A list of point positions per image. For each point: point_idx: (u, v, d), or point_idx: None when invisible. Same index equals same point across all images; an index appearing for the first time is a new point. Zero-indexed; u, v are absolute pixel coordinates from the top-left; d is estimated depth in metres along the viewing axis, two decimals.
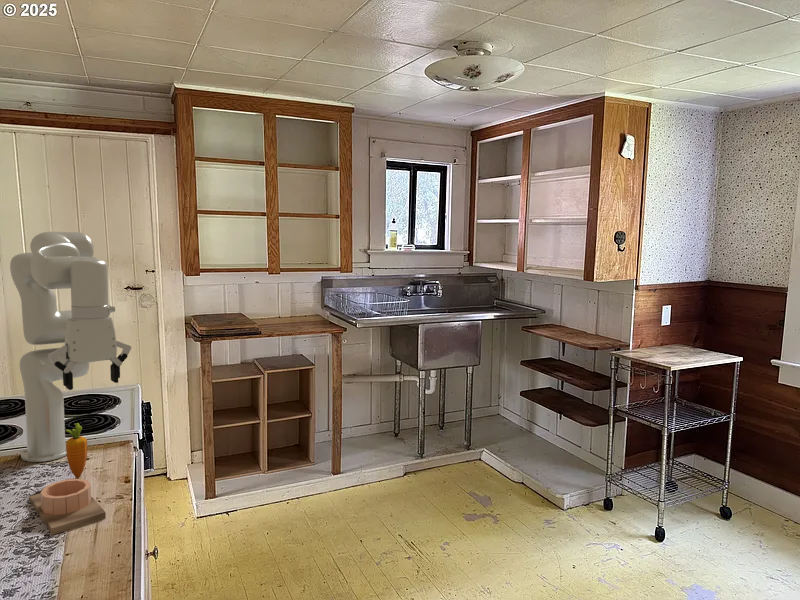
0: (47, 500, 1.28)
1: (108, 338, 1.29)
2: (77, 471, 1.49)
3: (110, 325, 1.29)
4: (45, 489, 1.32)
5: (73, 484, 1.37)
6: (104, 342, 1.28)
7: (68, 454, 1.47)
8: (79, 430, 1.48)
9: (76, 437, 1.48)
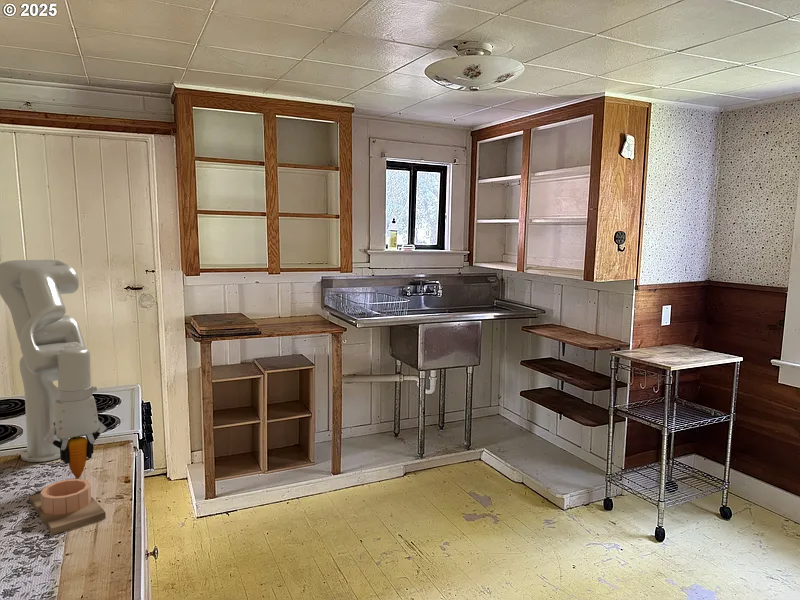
0: (47, 500, 1.28)
1: (90, 415, 1.48)
2: (77, 471, 1.49)
3: (92, 404, 1.49)
4: (45, 489, 1.32)
5: (73, 484, 1.37)
6: (87, 419, 1.48)
7: None
8: None
9: (76, 437, 1.48)
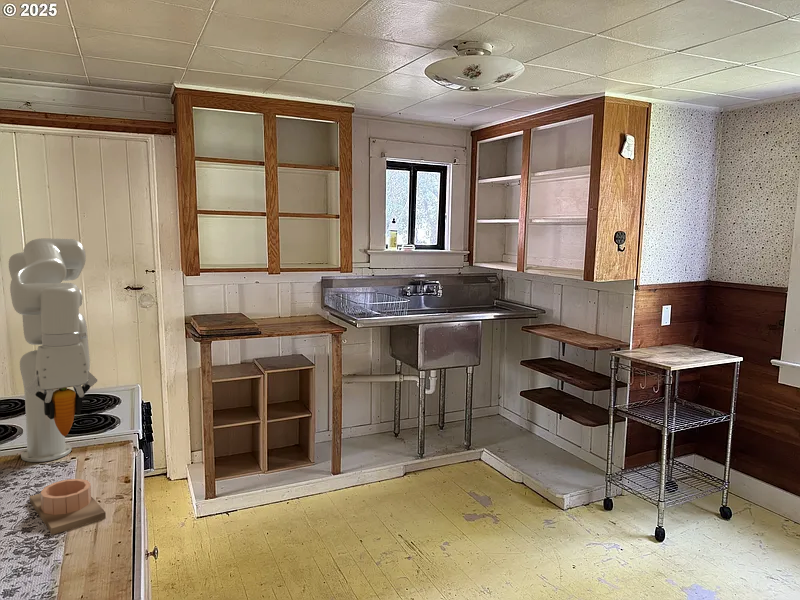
0: (47, 500, 1.28)
1: (79, 364, 1.30)
2: (64, 428, 1.30)
3: (81, 351, 1.30)
4: (45, 489, 1.32)
5: (73, 484, 1.37)
6: (75, 368, 1.30)
7: (54, 408, 1.29)
8: None
9: (63, 389, 1.29)
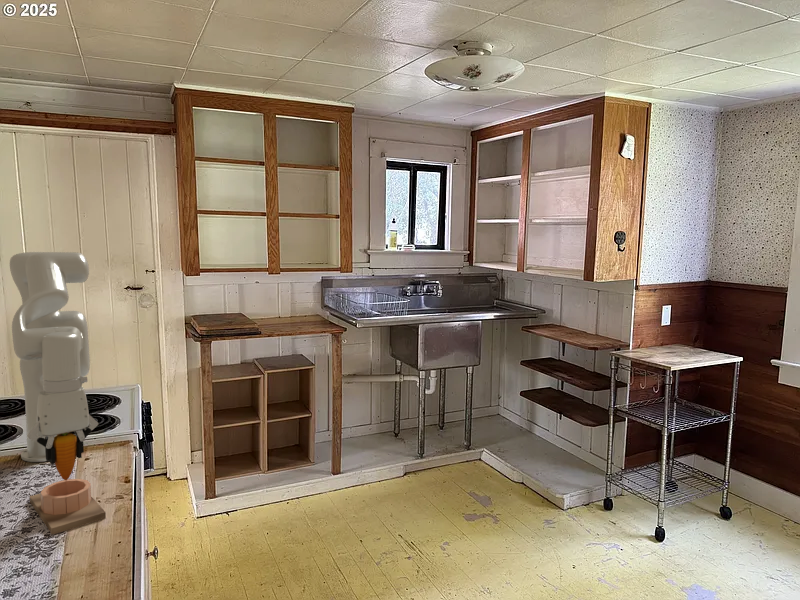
0: (47, 500, 1.28)
1: (80, 409, 1.31)
2: (65, 472, 1.31)
3: (82, 396, 1.31)
4: (45, 489, 1.32)
5: (73, 484, 1.37)
6: (76, 413, 1.30)
7: (55, 453, 1.29)
8: None
9: (64, 434, 1.30)
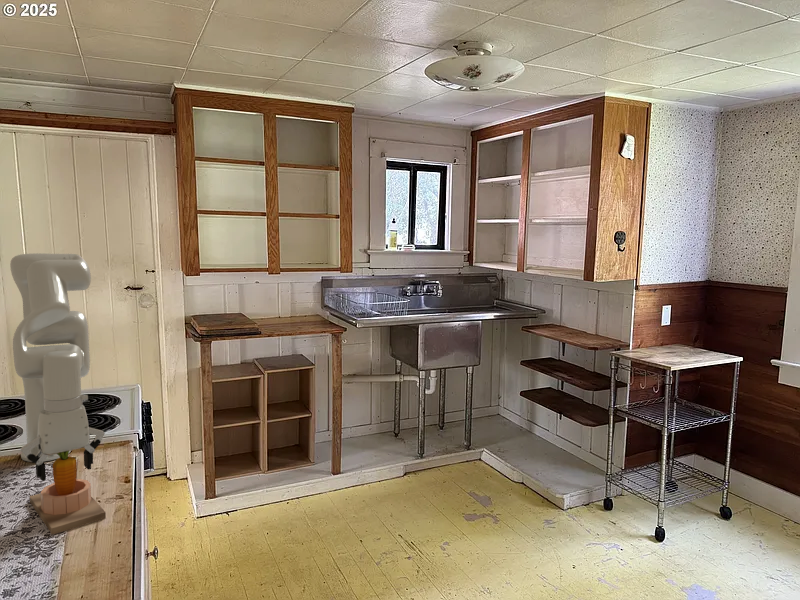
0: (47, 500, 1.28)
1: (81, 427, 1.31)
2: None
3: (83, 415, 1.32)
4: (45, 489, 1.32)
5: None
6: (77, 432, 1.31)
7: (55, 478, 1.30)
8: None
9: (64, 458, 1.31)
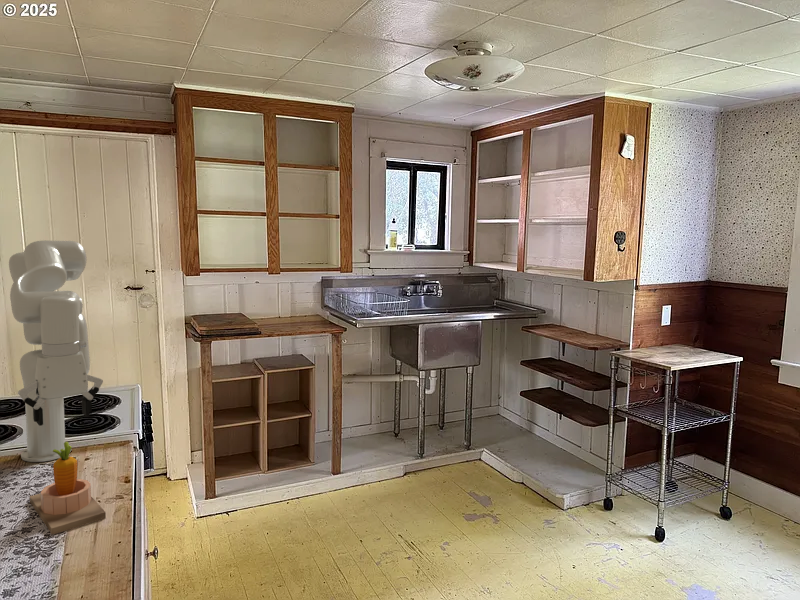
0: (47, 500, 1.28)
1: (79, 373, 1.30)
2: None
3: (81, 361, 1.30)
4: (45, 489, 1.32)
5: None
6: (75, 378, 1.29)
7: (56, 478, 1.30)
8: (68, 450, 1.31)
9: (65, 458, 1.31)
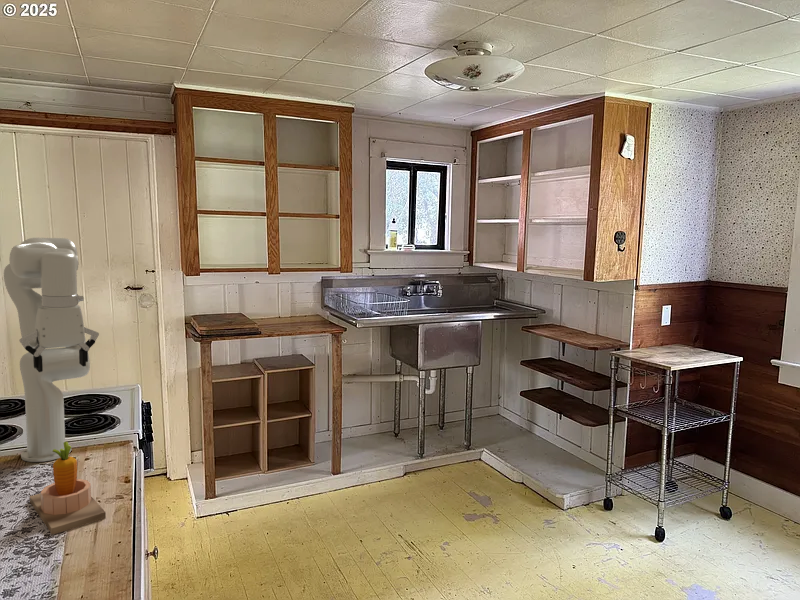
0: (47, 500, 1.28)
1: (76, 325, 1.39)
2: None
3: (78, 313, 1.39)
4: (45, 489, 1.32)
5: None
6: (72, 329, 1.39)
7: (56, 478, 1.30)
8: (68, 450, 1.31)
9: (64, 458, 1.31)
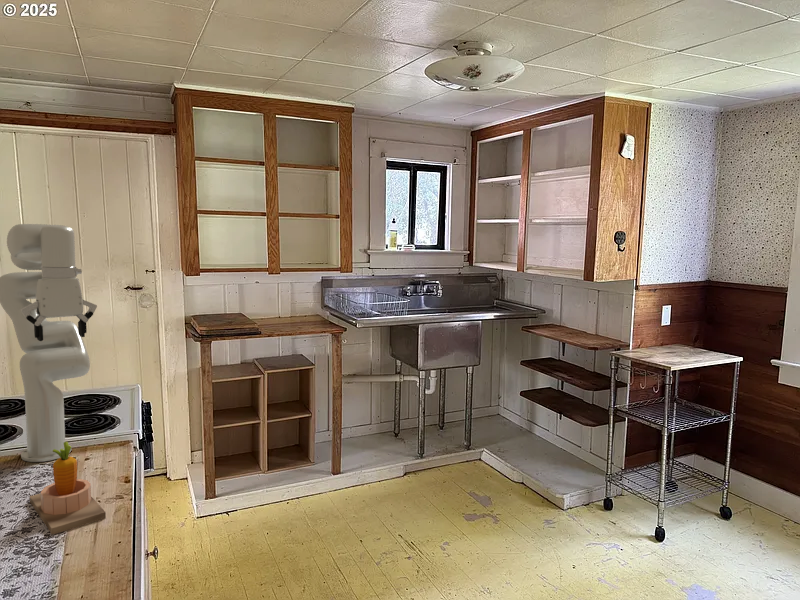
0: (47, 500, 1.28)
1: (75, 296, 1.45)
2: None
3: (77, 285, 1.46)
4: (45, 489, 1.32)
5: None
6: (71, 300, 1.45)
7: (56, 478, 1.30)
8: (68, 450, 1.31)
9: (64, 458, 1.31)
